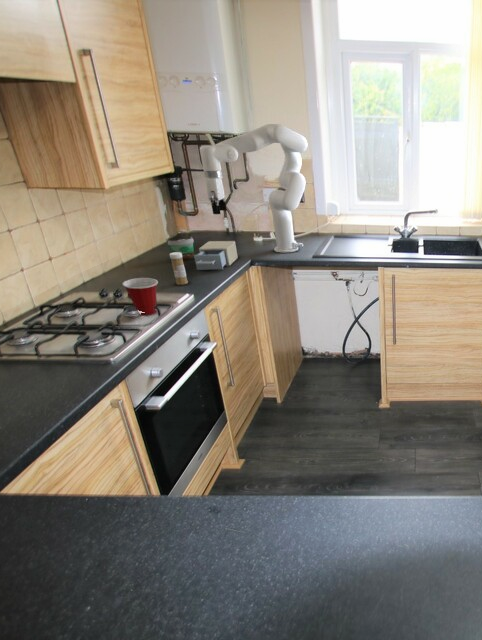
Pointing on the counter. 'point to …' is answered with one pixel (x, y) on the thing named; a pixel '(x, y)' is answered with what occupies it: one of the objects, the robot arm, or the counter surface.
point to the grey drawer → (210, 259)
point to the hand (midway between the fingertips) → (220, 212)
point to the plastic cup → (142, 294)
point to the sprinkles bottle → (178, 268)
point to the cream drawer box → (223, 245)
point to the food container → (183, 247)
